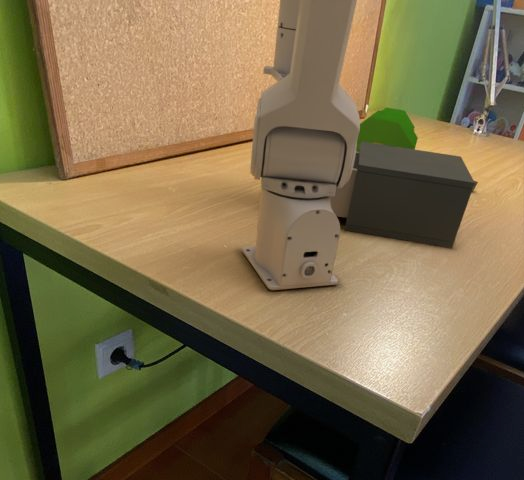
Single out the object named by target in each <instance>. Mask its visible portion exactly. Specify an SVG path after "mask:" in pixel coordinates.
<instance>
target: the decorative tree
mask: <svg viewBox="0 0 524 480" xmlns="http://www.w3.org/2000/svg"><path fill="white" fill-rule="evenodd" d="M418 139H419V137H418V135H417V134H416V132H415V125H414V123H413V122H412V120H411V118H410V116H409V114H408V113H407V112H406V110H404V109H398V108H391V107H384V108H383V109H382V110H379V109H378V110H376V111H375V112H373V113H372V114H371V115H369V116H368V117H367V118H366V119H364V120H363V121H362V122H360V131H359V135H358V139H357V147H356V151H358V152H359V147H360V142H361V141H362V142H369V143H375V144H382V145H388V146H395V147H401V148H408V149H415V150H416V146H417V144H418V143H417V142H418Z"/></svg>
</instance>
